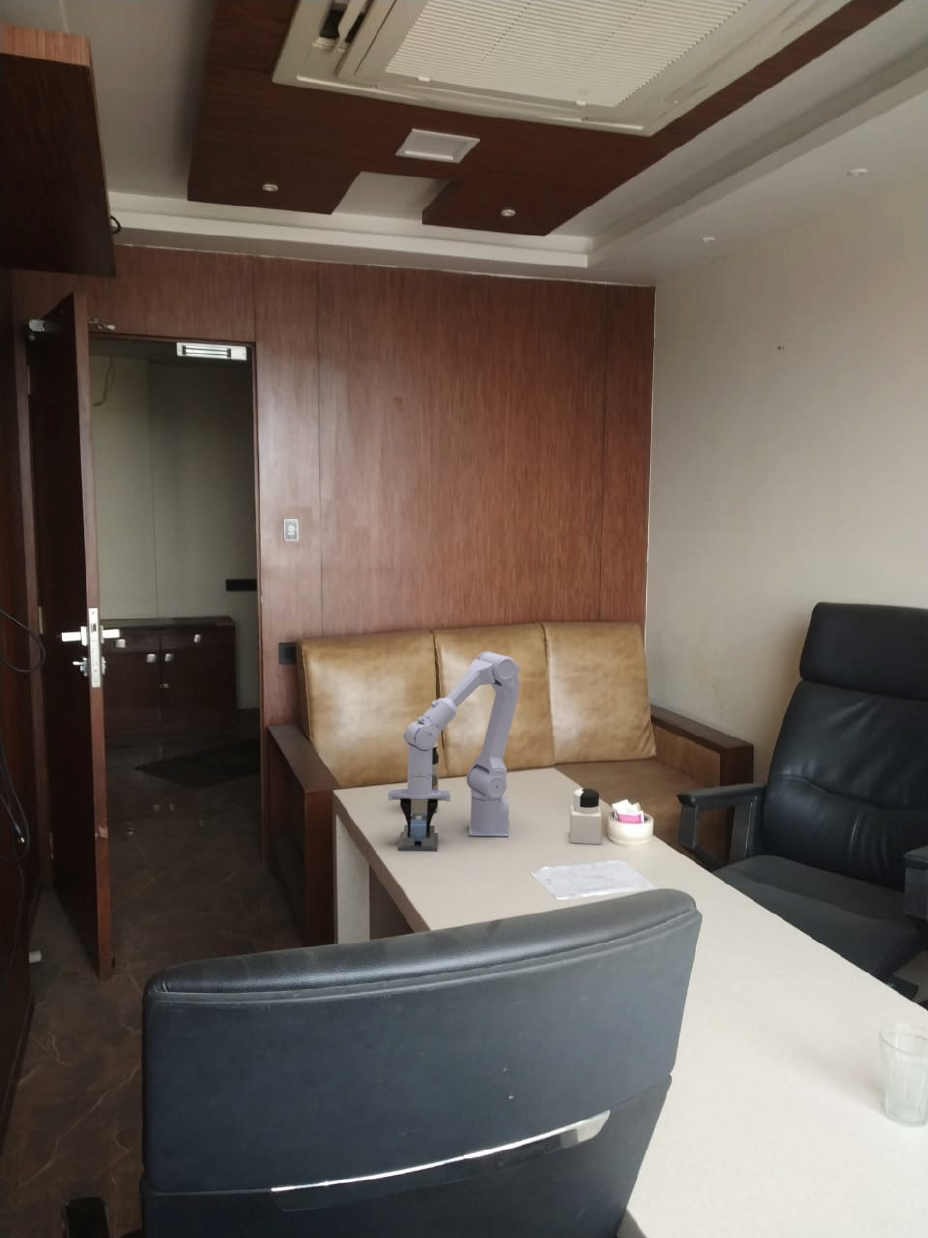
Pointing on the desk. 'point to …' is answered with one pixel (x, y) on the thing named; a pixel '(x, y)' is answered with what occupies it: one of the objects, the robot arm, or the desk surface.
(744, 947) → the desk surface
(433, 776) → the travel mug
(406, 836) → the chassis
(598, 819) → the grey rotary knob pedestal
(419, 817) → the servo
